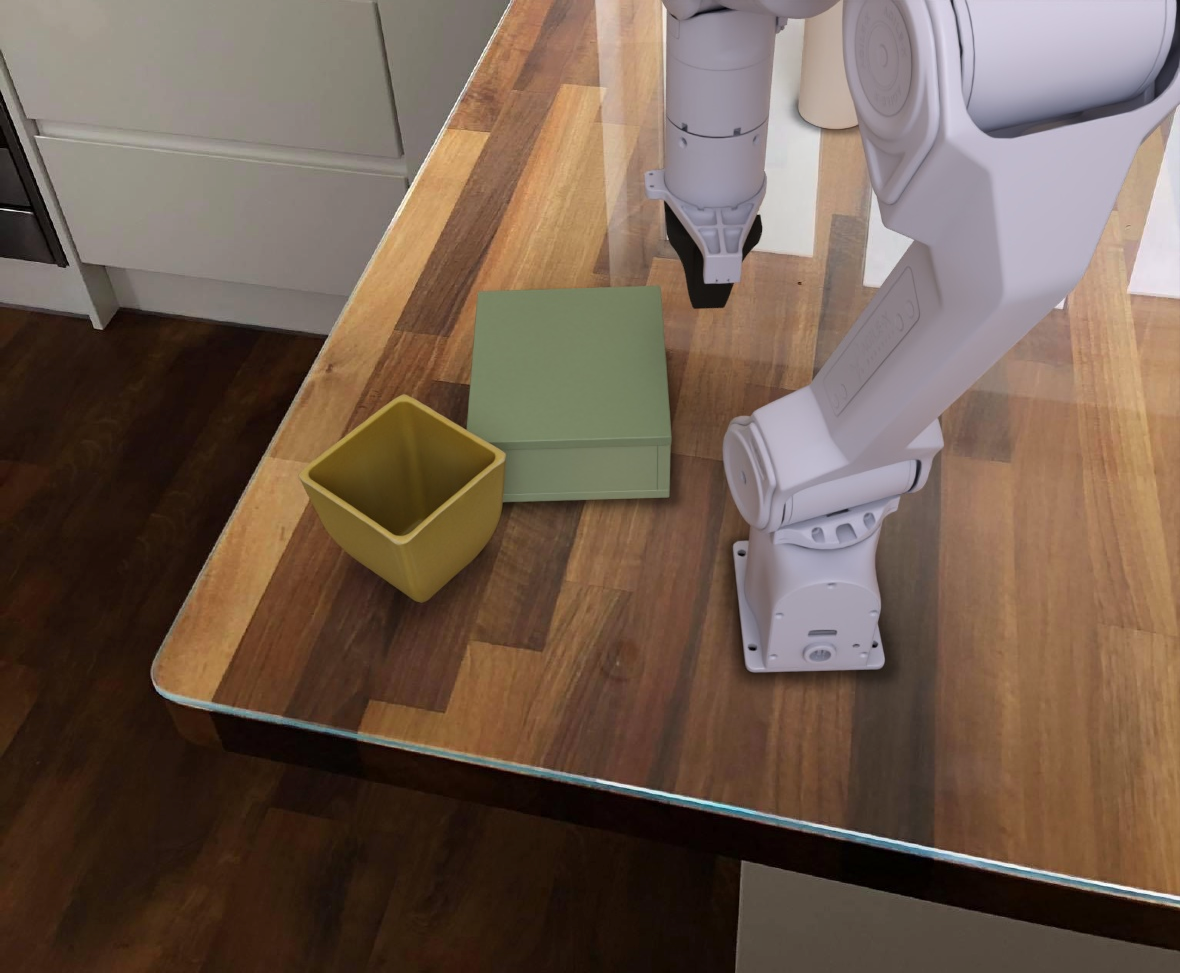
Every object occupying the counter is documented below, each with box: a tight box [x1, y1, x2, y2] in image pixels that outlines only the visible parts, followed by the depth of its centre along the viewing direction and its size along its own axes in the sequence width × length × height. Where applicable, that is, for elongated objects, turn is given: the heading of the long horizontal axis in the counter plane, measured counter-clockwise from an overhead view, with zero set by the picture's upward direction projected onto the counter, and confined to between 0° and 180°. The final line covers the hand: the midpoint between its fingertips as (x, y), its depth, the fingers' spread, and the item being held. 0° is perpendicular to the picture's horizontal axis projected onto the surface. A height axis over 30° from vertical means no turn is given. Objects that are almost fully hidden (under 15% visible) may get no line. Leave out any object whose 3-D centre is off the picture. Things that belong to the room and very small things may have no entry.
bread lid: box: [466, 284, 673, 450], centre depth 80 cm, size 14×13×1 cm
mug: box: [798, 0, 859, 130], centre depth 106 cm, size 10×7×12 cm, turn 153°
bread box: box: [502, 444, 672, 503], centre depth 82 cm, size 14×13×6 cm
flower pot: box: [297, 393, 506, 604], centre depth 74 cm, size 9×9×9 cm
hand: (708, 301), depth 78 cm, fingers closed
